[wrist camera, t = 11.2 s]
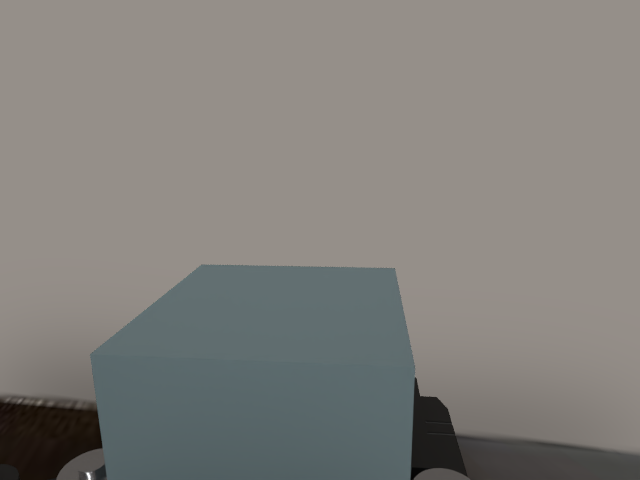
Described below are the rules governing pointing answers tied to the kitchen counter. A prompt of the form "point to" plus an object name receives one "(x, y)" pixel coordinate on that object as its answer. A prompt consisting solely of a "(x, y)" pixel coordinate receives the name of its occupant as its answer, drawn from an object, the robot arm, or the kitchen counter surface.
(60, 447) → the kitchen counter surface
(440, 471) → the robot arm
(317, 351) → the pillar
